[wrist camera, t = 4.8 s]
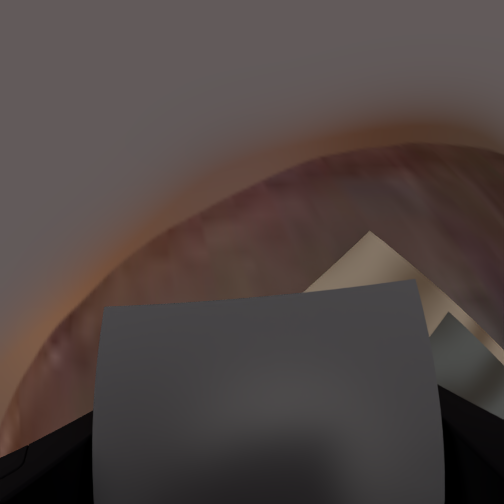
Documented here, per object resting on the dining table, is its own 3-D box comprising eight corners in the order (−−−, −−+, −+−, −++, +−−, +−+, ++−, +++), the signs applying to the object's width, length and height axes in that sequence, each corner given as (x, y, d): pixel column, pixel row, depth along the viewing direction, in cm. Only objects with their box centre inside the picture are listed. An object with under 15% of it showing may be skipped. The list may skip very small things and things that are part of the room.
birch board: (545, 401, 14) (549, 400, 13) (346, 613, 9) (347, 616, 8) (368, 234, 25) (369, 230, 24) (149, 419, 19) (146, 418, 19)
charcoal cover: (362, 500, 10) (436, 582, 2) (213, 508, 11) (103, 579, 3) (353, 366, 13) (415, 278, 6) (211, 377, 14) (104, 306, 6)
